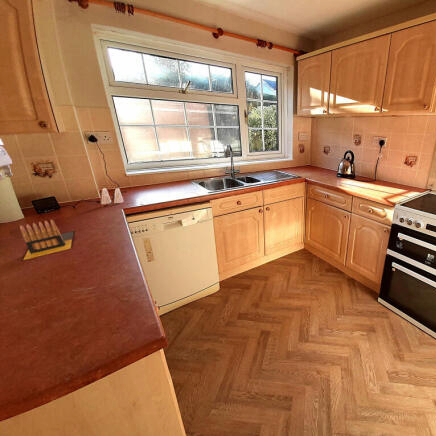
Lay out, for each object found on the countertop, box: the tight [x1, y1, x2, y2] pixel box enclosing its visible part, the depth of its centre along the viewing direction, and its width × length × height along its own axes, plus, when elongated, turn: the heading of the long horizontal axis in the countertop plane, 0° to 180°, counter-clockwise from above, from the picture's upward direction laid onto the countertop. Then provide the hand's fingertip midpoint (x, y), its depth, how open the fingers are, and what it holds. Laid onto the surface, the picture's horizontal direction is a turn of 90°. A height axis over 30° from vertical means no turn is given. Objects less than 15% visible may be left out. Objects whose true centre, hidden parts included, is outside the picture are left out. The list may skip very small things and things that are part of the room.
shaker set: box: [100, 187, 125, 206], centre depth 158 cm, size 12×4×11 cm, turn 129°
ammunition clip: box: [19, 219, 65, 254], centre depth 99 cm, size 11×2×12 cm, turn 128°
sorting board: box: [22, 231, 75, 261], centre depth 105 cm, size 14×22×1 cm, turn 37°
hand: (5, 178), depth 97 cm, fingers open, 8 cm apart
